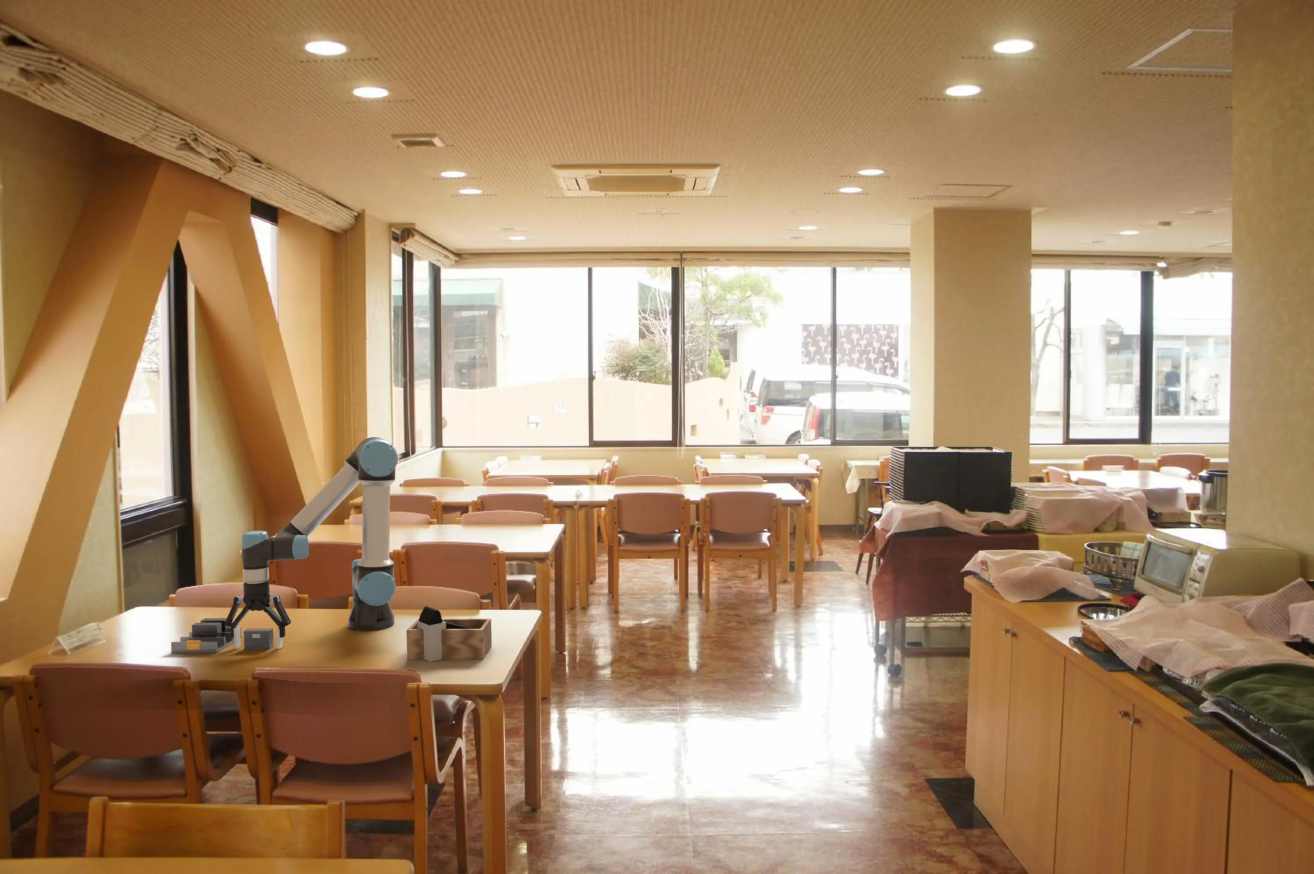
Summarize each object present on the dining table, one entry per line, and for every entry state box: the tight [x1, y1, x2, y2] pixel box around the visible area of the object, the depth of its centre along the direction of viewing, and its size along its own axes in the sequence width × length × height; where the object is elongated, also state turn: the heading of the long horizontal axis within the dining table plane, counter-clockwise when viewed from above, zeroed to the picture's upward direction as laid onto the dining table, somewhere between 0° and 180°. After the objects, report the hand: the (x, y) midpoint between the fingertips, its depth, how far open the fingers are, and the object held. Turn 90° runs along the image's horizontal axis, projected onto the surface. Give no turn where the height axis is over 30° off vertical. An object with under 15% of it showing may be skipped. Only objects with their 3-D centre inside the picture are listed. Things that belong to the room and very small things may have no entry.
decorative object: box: [417, 605, 472, 663], centre depth 293 cm, size 8×18×15 cm, turn 132°
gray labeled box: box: [243, 627, 275, 651], centre depth 300 cm, size 8×3×6 cm, turn 89°
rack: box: [170, 617, 242, 655], centre depth 304 cm, size 14×17×7 cm
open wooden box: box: [405, 618, 493, 661], centre depth 293 cm, size 23×13×9 cm, turn 89°
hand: (258, 647), depth 300 cm, fingers open, 13 cm apart
